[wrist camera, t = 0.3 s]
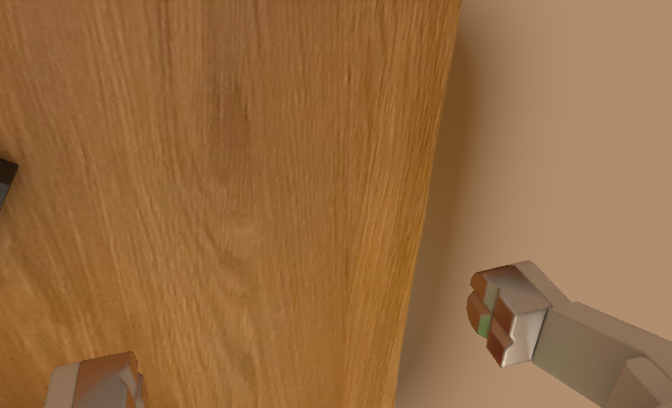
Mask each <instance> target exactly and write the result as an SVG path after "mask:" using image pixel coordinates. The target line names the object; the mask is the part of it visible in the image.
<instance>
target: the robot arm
mask: <svg viewBox="0 0 672 408" xmlns="http://www.w3.org/2000/svg"><path fill="white" fill-rule="evenodd" d="M470 285H471V286H472V288H473V289H474V291H473V292H472V293H471V294H470V296H469V297H468V300H467V313H468V318H469V320H470V323H471V325H472V327H473V328H474V330H475V331H476V333H477V334H479V335H481V336H483V337H485V338H487V346H486V347H487V349H488V350H489V352H490V353H491V354H492V356H493V357H494V359H495V360H496V362H497V363H498V364H499V366H500V367H501V368H502V367H507V366H511V365H515V364H519V363H523V362H527V361H531V360H532V363H534V364H535V365H537V366H538V367H540V368H541V369H543V370H544V371H546V372H547V373H549V374H551V375H552V376H554V377H555V378H557V379H559V380H560V381H562V382H563V383H564V384H566V385H568V386H569V387H571V388H572V389H574V390H575V391H577V392H578V393H580V394H581V395H583V396H585V397H586V398H588V399H589V400H591V401H592V402H594V403H596V404H597V405H598V406H600V407H602V408H672V342H671V341H668V340H666V339H664V338H662V337H659V336H657V335H655V334H652V333H650V332H648V331H645V330H643V329H641V328H638V327H636V326H633V325H631V324H629V323H626V322H624V321H622V320H619V319H617V318H615V317H612V316H610V315H608V314H605V313H603V312H600V311H598V310H596V309H594V308H591V307H589V306H587V305H584V304H582V303H579V302H573V303H572V302H571V301H570V300H569V299H568V298H567V297H566V296H565V295H564V294H563V293H562V292H561V291H560V290H559V289H558V288H557V287H556V286H555V285H554V283H552V281H550V279H549V278H548V277H547V276H546V275H545V274H544V273H543V272H542V271H541V270H540V269H539V268H538V267H537V266H536V265H535V264H534V263H533V262H531V261H523V262H519V263H515V264H511V265H506V266H502V267H498V268H493V269H489V270H485V271H481V272H476V273H475V274H474V275H473V276H472V279H471V284H470ZM137 367H138V361H137V359H136V356H135V354H134V352H133V351H129V352H124V353H119V354H114V355H109V356H104V357H99V358H94V359H89V360H84V361H81V362H77V363H72V364H67V365H62V366H57V367H56V368H55V369H54V371H53V373H52V375H51V379H50V384H49V388H48V393H47V398H46V402H45V407H44V408H149V403H148V393H147V388H146V384H145V380H144V378H143V375H142V374H140V373H138V372H137Z"/></svg>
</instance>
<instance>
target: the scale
mask: <svg viewBox="0 0 672 408" xmlns="http://www.w3.org/2000/svg"><path fill="white" fill-rule="evenodd" d="M17 169H18V165H15V164H12V163H10V162H7V161H4V160H1V159H0V210H1V208H2V205H3V203H4V200H5V198H6V196H7V193H8V191H9V188H10V186H11V184H12V181H13V179H14V176H15V174H16V172H17Z"/></svg>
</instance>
